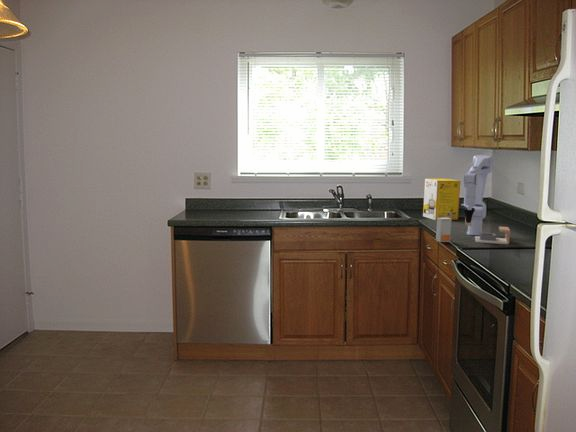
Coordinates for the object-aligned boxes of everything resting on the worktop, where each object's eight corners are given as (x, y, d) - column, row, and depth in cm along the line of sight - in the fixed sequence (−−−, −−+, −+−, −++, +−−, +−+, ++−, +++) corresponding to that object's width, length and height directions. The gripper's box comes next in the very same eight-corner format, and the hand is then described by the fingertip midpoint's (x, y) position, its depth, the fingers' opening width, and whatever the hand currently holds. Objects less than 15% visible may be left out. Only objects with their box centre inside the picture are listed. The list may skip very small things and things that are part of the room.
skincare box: (439, 242, 304) (441, 218, 302) (435, 240, 308) (436, 217, 306) (450, 242, 306) (451, 218, 304) (446, 240, 310) (447, 217, 308)
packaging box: (422, 216, 400) (424, 178, 396) (444, 216, 404) (447, 178, 400) (435, 220, 384) (437, 180, 381) (457, 219, 388) (460, 180, 385)
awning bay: (475, 238, 319) (475, 225, 318) (507, 240, 315) (508, 227, 314) (475, 242, 308) (476, 228, 307) (509, 244, 303) (510, 230, 302)
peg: (464, 224, 319) (465, 213, 318) (471, 225, 318) (471, 213, 318) (464, 225, 316) (465, 214, 315) (471, 226, 315) (472, 214, 314)
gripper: (461, 194, 323) (460, 219, 325) (462, 197, 309) (460, 223, 311) (475, 195, 321) (474, 220, 323) (476, 197, 307) (474, 224, 309)
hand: (468, 222), depth 317 cm, fingers closed on peg, 3 cm apart
